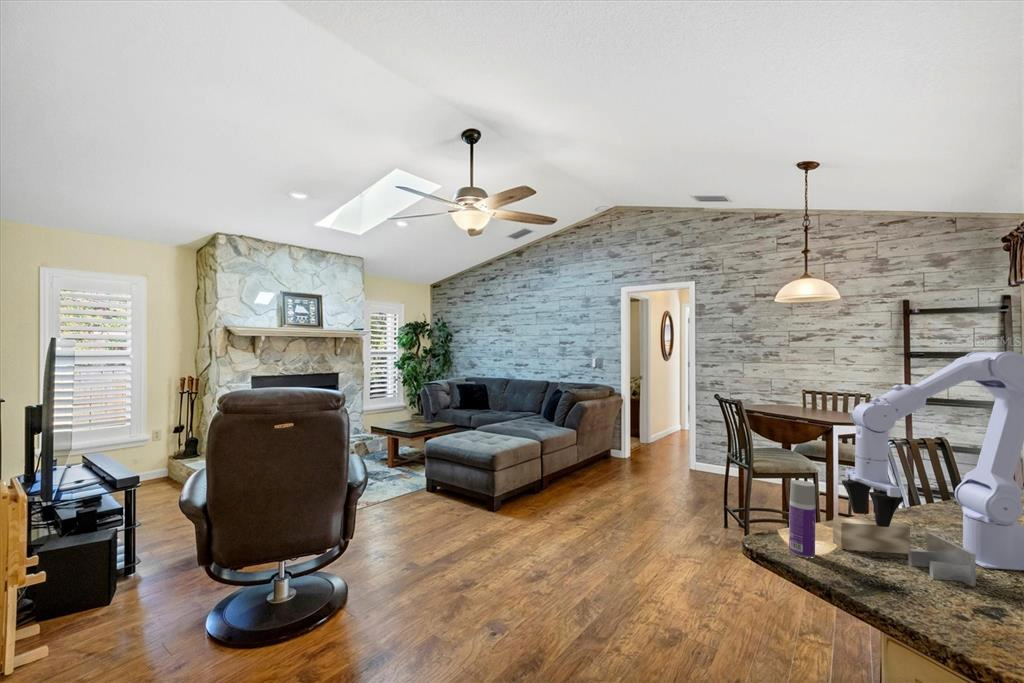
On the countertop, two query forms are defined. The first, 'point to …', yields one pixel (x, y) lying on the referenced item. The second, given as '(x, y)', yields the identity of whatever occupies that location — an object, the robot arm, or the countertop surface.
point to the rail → (871, 536)
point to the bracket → (945, 560)
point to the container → (802, 518)
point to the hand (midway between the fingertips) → (870, 519)
